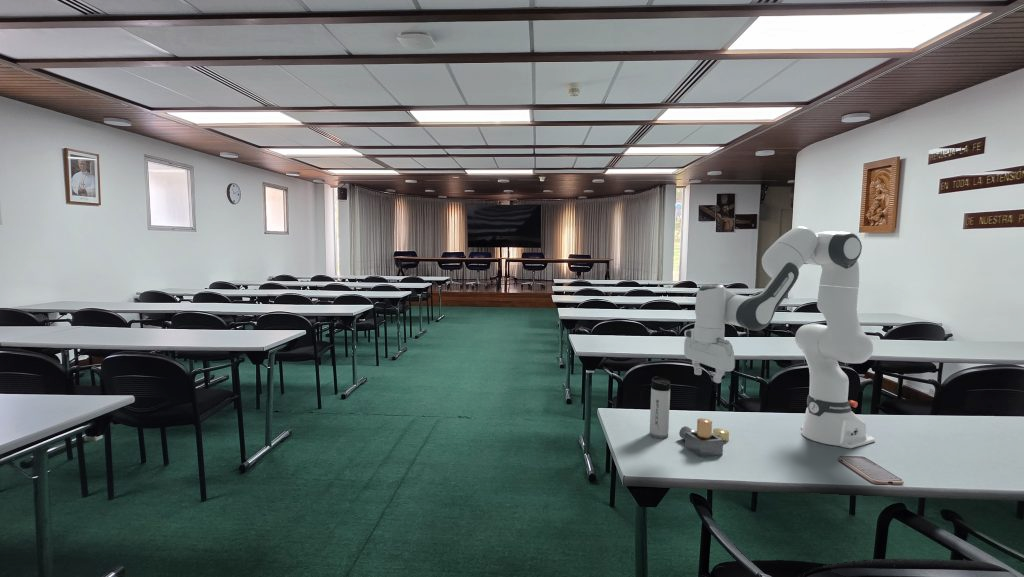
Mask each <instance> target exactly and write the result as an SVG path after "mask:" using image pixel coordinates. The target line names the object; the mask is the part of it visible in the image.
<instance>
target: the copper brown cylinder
mask: <svg viewBox="0 0 1024 577" xmlns="http://www.w3.org/2000/svg"><path fill="white" fill-rule="evenodd" d="M696 422H697V423H696V431H697V438H699V439H701V440H711V437H712V433H713V421H712V420H711V419H708V418H701V417H700V418H697V420H696Z"/></svg>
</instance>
